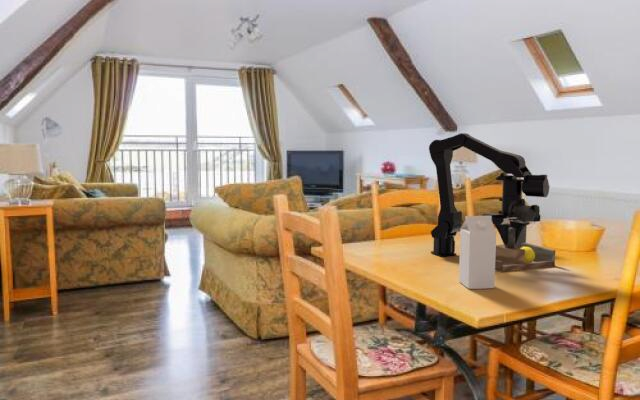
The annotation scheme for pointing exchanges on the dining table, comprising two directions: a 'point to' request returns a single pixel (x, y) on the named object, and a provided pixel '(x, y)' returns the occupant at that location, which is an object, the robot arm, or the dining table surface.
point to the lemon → (528, 254)
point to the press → (542, 259)
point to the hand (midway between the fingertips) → (509, 244)
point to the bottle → (521, 237)
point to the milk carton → (477, 252)
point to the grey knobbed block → (510, 251)
